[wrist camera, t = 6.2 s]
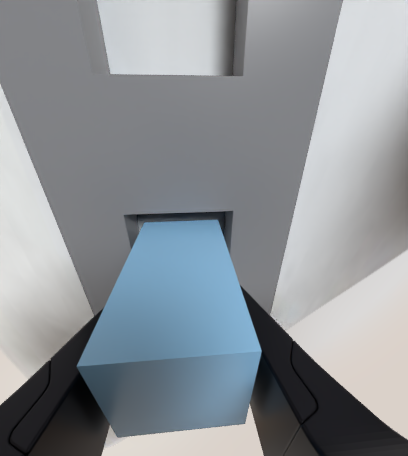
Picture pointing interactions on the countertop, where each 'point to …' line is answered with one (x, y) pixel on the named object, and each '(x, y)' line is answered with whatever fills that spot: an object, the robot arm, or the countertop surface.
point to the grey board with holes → (167, 132)
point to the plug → (174, 336)
